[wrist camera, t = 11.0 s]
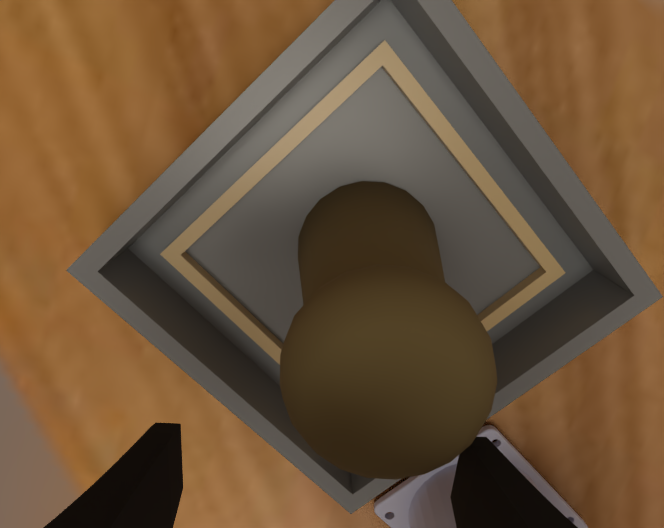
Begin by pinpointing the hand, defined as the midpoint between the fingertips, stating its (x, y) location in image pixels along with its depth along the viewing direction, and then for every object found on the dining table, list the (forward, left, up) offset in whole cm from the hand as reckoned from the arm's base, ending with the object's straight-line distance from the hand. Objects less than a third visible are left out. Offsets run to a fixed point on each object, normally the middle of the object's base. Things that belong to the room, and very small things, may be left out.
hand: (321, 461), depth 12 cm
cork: (+1, -3, -10) cm, 10 cm away
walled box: (0, -3, -10) cm, 11 cm away
